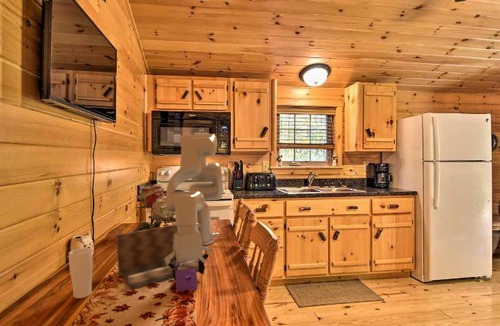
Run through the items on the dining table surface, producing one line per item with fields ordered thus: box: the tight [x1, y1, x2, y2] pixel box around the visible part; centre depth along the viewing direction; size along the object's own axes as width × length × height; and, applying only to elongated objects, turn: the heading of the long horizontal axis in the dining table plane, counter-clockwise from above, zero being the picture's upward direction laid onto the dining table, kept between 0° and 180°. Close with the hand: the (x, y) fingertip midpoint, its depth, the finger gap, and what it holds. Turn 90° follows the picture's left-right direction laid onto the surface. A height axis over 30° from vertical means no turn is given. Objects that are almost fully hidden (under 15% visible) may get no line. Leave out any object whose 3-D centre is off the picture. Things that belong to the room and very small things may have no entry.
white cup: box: [68, 247, 94, 299], centre depth 98 cm, size 7×7×15 cm
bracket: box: [175, 268, 198, 292], centre depth 104 cm, size 12×7×7 cm, turn 14°
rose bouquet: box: [132, 183, 176, 232], centre depth 181 cm, size 26×29×30 cm
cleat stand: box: [116, 223, 199, 290], centre depth 118 cm, size 28×21×15 cm
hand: (189, 276), depth 105 cm, fingers open, 9 cm apart
